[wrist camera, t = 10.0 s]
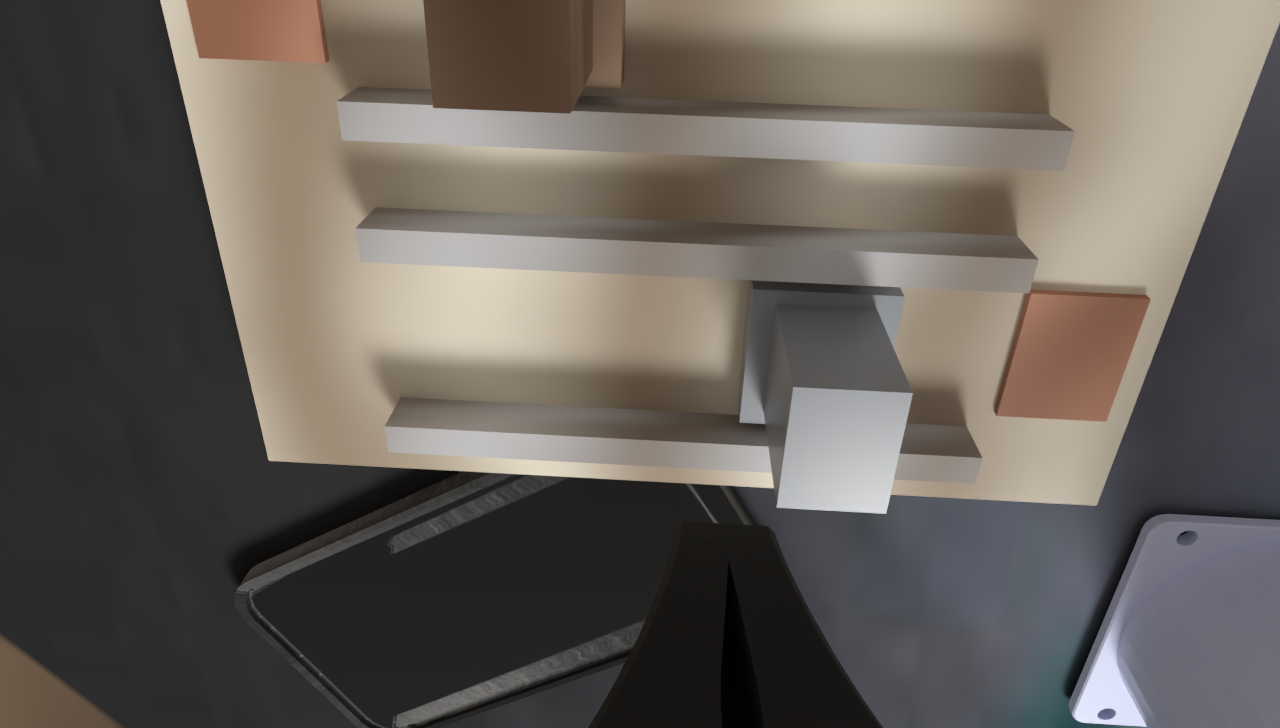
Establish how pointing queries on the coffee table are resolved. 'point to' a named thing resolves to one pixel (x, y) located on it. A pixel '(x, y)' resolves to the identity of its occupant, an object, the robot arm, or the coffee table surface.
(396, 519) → the phone
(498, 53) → the switch tab near
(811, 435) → the switch tab far
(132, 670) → the coffee table surface
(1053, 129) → the switch panel
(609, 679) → the coffee table surface
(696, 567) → the robot arm
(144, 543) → the coffee table surface
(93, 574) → the coffee table surface
